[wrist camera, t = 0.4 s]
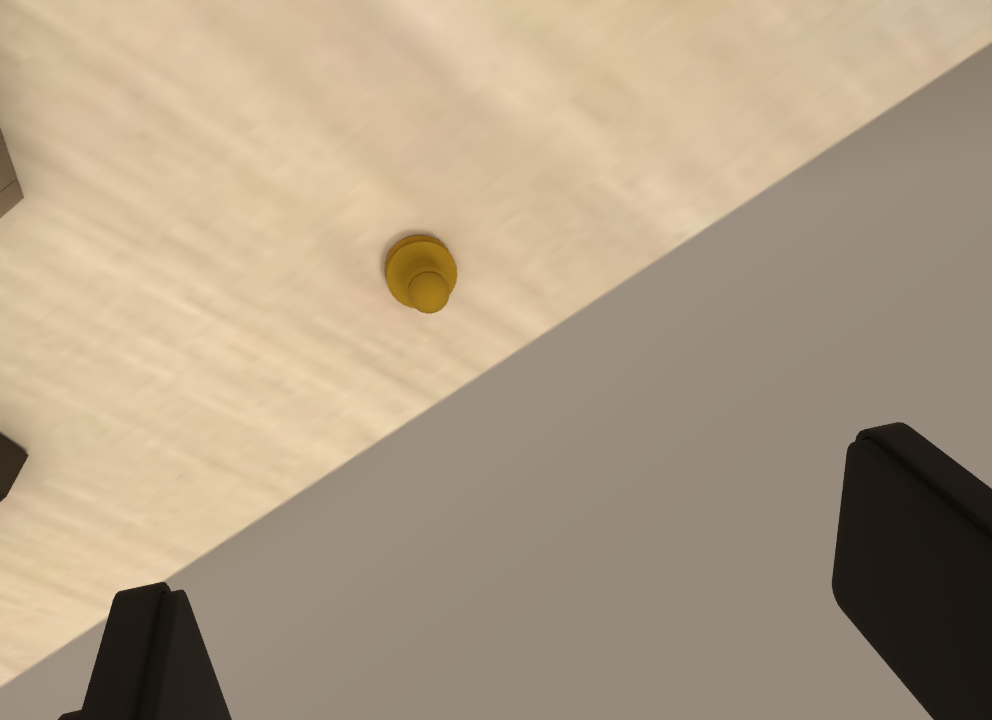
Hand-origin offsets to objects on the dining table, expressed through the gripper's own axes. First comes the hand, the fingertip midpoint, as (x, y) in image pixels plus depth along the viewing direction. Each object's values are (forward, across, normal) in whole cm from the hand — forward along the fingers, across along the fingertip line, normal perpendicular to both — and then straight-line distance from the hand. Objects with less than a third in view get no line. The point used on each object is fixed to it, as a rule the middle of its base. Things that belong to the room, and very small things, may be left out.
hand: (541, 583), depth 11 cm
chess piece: (+36, -2, +8) cm, 37 cm away
